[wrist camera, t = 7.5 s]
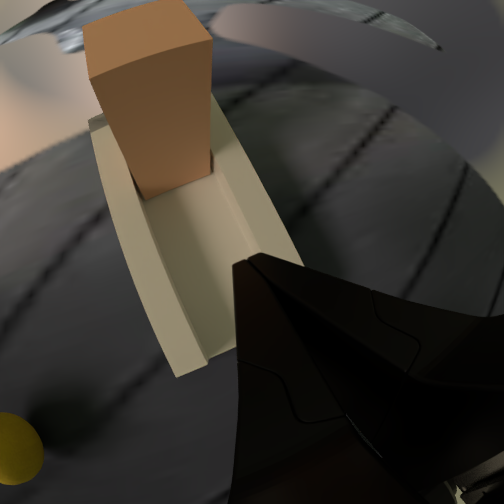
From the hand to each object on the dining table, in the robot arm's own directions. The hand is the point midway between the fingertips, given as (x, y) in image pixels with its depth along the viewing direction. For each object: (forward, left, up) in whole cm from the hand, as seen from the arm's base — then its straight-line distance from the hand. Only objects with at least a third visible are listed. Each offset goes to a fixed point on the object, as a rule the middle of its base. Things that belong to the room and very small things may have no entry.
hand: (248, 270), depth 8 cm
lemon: (+16, +13, -13) cm, 24 cm away
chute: (+3, -6, -13) cm, 14 cm away
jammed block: (+5, -10, -11) cm, 16 cm away
